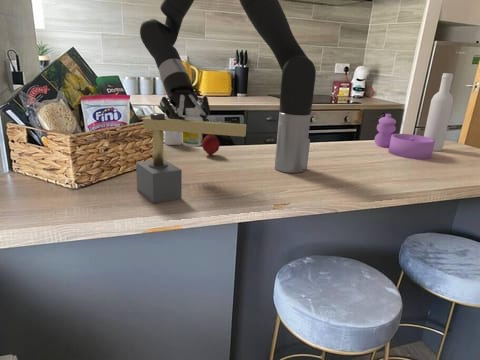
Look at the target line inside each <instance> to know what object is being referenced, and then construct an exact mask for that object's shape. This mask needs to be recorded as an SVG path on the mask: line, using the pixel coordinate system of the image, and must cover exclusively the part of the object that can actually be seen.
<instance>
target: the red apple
mask: <svg viewBox="0 0 480 360" xmlns="http://www.w3.org/2000/svg"><path fill="white" fill-rule="evenodd" d="M220 145H221V144H220V140H219V138H218V137H217V136H216V134H206V136H205V137H204V138H203V139H202V145H201V148H202V150H204V151H205V153H206V154H207V155H209V156H212V155H214V154H215V153H217V152H218V151H219V149H220Z"/></svg>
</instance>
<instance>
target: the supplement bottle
mask: <svg viewBox="0 0 480 360" xmlns="http://www.w3.org/2000/svg"><path fill="white" fill-rule="evenodd" d="M201 109H202V108H201ZM201 109H198V108H186V110H185V112H184V113H185V116H183V117H184V119H185V120H193V121H203V119H202V118H201V117H200V114H201ZM202 142H203V134H202V133H189V132H186V133H183V132H182V145H183V146H186V147H193V148H194V147H202Z"/></svg>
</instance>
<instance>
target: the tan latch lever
mask: <svg viewBox="0 0 480 360" xmlns="http://www.w3.org/2000/svg"><path fill="white" fill-rule="evenodd" d="M142 121H143V125H142V126H143V127H142V129H143V130H149V131H152V160H153V166H156V167H161V166H163V165H164V160H165V158H164V131H175V132H182V133H183V132H189V133H202V135H203V134H205V135H209V134H213V135H215V136H216V135H217V136H229V137H230V136H231V137H243V138H244V137H246V135H247V124H246V123H234V122H233V123H232V122H219V121H218V122H217V121H208V120H207V121H193V120H179V119H165V113H163V112H162V113H161V112H154V113H153V112H152V113H150V115H149V116H146V117H143V118H142Z"/></svg>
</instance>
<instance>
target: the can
mask: <svg viewBox="0 0 480 360" xmlns="http://www.w3.org/2000/svg"><path fill="white" fill-rule="evenodd" d="M175 110H176V109H174V111H175ZM164 114H165V113H164ZM165 119H168V117H167V115H166V114H165ZM163 134H164V144H165V145H168V146H180V145H182V144H183V132H175V131H163Z"/></svg>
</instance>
